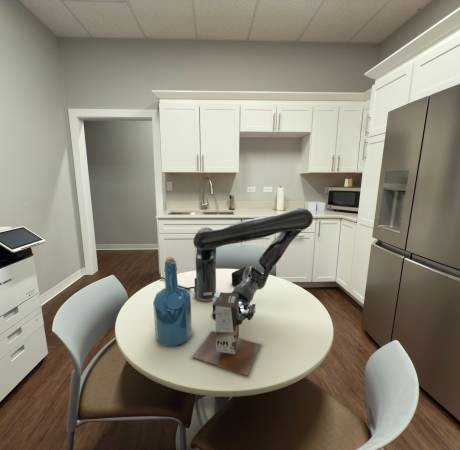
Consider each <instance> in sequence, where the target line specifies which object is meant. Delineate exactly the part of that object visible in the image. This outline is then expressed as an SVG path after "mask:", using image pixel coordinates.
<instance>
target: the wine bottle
mask: <svg viewBox="0 0 460 450" xmlns="http://www.w3.org/2000/svg"><path fill="white" fill-rule="evenodd" d="M163 272H164V278H165V280H164V286H165V287H164V288H162V289H161V290H159V291H158V292H157V293H156V294H155V296H154V299H153V303H152V307H153V308H152V309H153V320H154V334H155V338H156V340H157V341H158V342H159V344H160V345H164V346H167V347H171V346H173V347H174V346H179V345H181V344H184V343H186V342H187V341H189V339H190V338H191V336H192V333H193V325H192V324H193V321H192V297H191V294H190V292H188V291H187V289H184V288H181V287H178V285H179V283H178V267H177V261H176V260H175V257H174V256H168V257H166V259H165V261H164V270H163Z"/></svg>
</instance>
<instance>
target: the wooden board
mask: <svg viewBox="0 0 460 450" xmlns="http://www.w3.org/2000/svg"><path fill="white" fill-rule="evenodd" d="M259 348H260V344H258V343H255V342H252V341H248V340H244V339H241V338H238V343H237V348H236V353H235V354H231V353H224V352H217V351H216V331H211V332H210V334H209V335H208V336H207V338H206V339H205V341H204V342H203V343H202V345H201V346H200V348H199V349H198V350H197V351H196V353H195V354H194V356H193V359H194V360H197V361H201V362H205V363H206V364H210V365H213V366H216V367H218V368H222V369H225V370H228V371H230V372H234V373H236V374H240V375H243V376H245V377H248V376H249V373H250V370H251V367H252V365H253V363H254V360H255V358H256V356H257V353H258V350H259Z"/></svg>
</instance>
